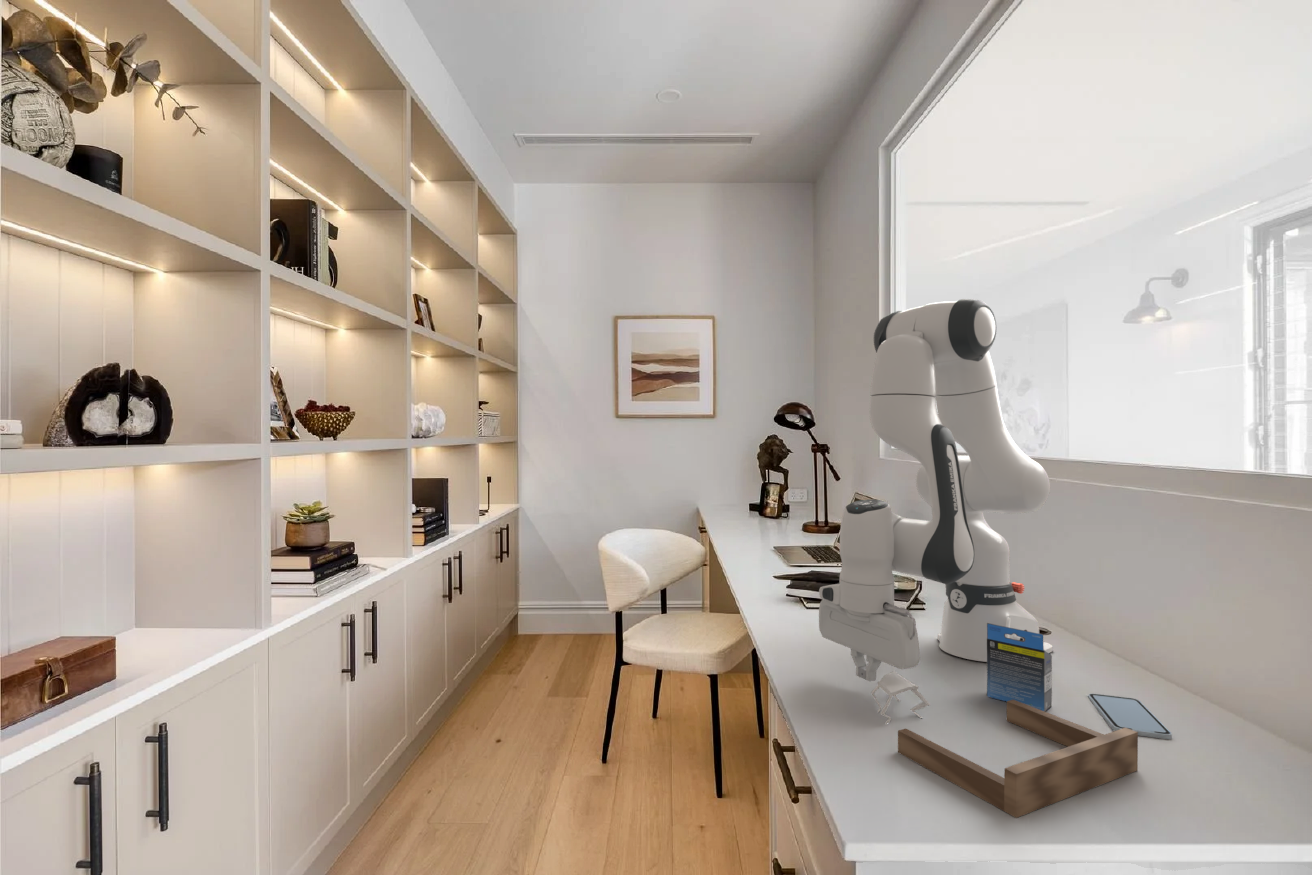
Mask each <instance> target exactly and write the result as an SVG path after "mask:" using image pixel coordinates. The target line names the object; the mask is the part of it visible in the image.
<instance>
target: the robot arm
mask: <svg viewBox="0 0 1312 875" xmlns="http://www.w3.org/2000/svg"><path fill="white" fill-rule="evenodd" d="M996 335H997V321H996V316H995V314H994V312H993V310H992V308H991V307H990V306H989V305H988V304H987V303H986V302H985V301H984V300H980V299H977V298H962V299H959V300H952V301H951V300H949V301H939V302H931V303H927V304H925V305H921V306H916V307H912V308H908V309H905V310H896V311H894V312H892V313H891V312H890V313H889V314H887V315H885V316H884V317H882V318H880V320H879V322H878V323H877V326H876V328H875V330H874V333H873V345H874V350H875V353H876V354H875V358H874V362H873V369H872V373H871V374H872V375H871V381H870V392H869V393H870V394H869V420H870V425H871V428H872V429H873V431H874V432H875V434H876V436H878V438H880V439H881V440H882V441H883V442H885V443H886V444H888V445H889V446H891V447H893V448H895V449H897V450H900V451H901V452H904V453H906V454H908V455H910V456H912V457H913V458H914V459H915V460H917V461H918V462H919V463H920V466H919V468H918V469H917V471H916V475H915V476H916V477H915V486H916V490H917V492H918V495H919V496H920V498H921V499H922V500H923V501H924V503H925V502H926V504H927V505H929V507H930V508H931V514H932V516H931V517H932V518H931V520H927V519H926V520H925V519H918V518H917V519H916V518H910V517H904V516H901V515H899V514H897V513H895V512H893V511H892V507H891V505H890V504H889V503H888V501H887V502H886V501H885V500H880V499H863V500H862V499H861V500H859V499H858V500H855V501H853V502H850V503H849V504H848V505H846V506H845V508H844V510H843V512H842V517H841V522H840V530H839V556H840V559H841V570H840V573H839V582H837V583H835V584H829V585H823V586H820V587H819V590H818V595H819V598H820V599H821V601H820V603H819V607H818V630H819V631H820V632H819V633H820V634H821V637H822V638H824V639H826V640H828V641H831V642H833V643H836V644H839V645H841V646H843V647H845V648H849V649H850V655H851V658H852V660H853V664H854V666H855V675H856V676H857V677H858V678H861V679H863V680H864V681H867V682H870V683H872V682H875V681H876V679H877V670H878V669H879V668H880V666H881V663H885V664H887V665H890V666H891V667H892V666H893V667H894V668H897V669H899V670H908V669H913V668H916V667H917V666H918V665H919V663H920V661H921V656H920V653H921V652H920V642H919V636H918V635H919V634H918V630H917V629H918V628H917V622H916V619H915V618H914V616H913V615H912V613H910V611H909V610H908V609H907V608H905V607H899V606H897V605H895V577H894V573H893V572H897V573H898V574H899V573H900V574H903V575H904V574H905V575H910V576H914V577H921V578H925V579H927V580H929V581H933V582H937V583H940V584H943V585H944V586H945V596H946V597H947V599H946V601H944V604H943V611H942V621H941V628H940V630H941V631H940V632H939V633H937V638H936V639H937V640H938V641H939V645H938V646H939V648H940V650H942V651H943V652H945V653H946V654H949V655H952V656H955V657H957V658H958V657H959V658H963V659H965V660H966V659H967V660H970V661H978V662H985V663H987V623H990V624H994V625H999V626H1004V627H1009V628H1014V629H1019V630H1023V631H1028V632H1033V633H1038V634H1040V628H1039V627H1040V625H1039V622H1038V620H1037V618H1035V617H1034V615H1032V614H1031V613H1030V612H1028V611H1027V610H1026V608H1024V607H1023V606H1022V605H1020V604H1019V603H1018V602H1017V597H1016V594H1015V593H1017V594H1020V595H1022V594H1023V593H1024V592H1025V585H1024V583H1019V582H1018V583H1017V582H1015V581H1013V582H1011V581H1010V577H1011V575H1010V566H1011V563H1010V562H1011V559H1010V558H1011V557H1010V552H1011V550H1010V545H1009V543H1008V541H1007V540H1006V538H1005V537H1004V536H1003V535H1001V534H1000V533H998V532H997V531H995V530H993V528H991V526H990V525H989V523H988V522H987V520H986V519H985V516H984V512H985V513H993V514H996V513H997V514H1004V515H1005V514H1006V515H1016V514H1017V515H1019V514H1027V513H1036V512H1038V511H1039V510H1041V509H1042V507H1043V506H1044V505H1046V504H1045V503H1046V502H1047V500H1048V499H1049V496H1050V493H1051V481H1050V478H1049V475H1048V472H1047V471H1046V470H1045V468H1044V467H1043V466H1042V465H1041V464H1040V463H1039V462H1037V461H1035V460H1034V459H1033V458H1031V457H1029V456H1028V455H1027V454H1026V453H1024V451H1023V450H1022V449H1021V448H1020V447H1019V446H1018V445H1017V444H1016V443H1015V442H1016V441H1015V440H1013V438H1012V436H1011V435H1010V432H1009V431H1008V430H1007V427H1006V425H1005V422H1004V418H1003V415H1002V414H1003V413H1002V409H1001V405H1000V404H1001V403H1000V399H999V392H998V384H997V378H996V373H995V368H994V364H993V361H992V358H991V354H990V350H991V347H992V346H993V345H994V342H995V340H996V337H997V336H996ZM956 444H958V445H959V446H960V447H961V448H962V449H963V450H964V451H965V453H966V454H967V455H958V450H957V445H956ZM1005 637H1006V638H1011V639H1016V640H1020V641H1023V640H1024V639H1023V638H1022V637H1018V636H1017V635H1016V634H1012V635H1009V634H1005ZM1043 646H1044V650H1045V651H1046V652H1047V653H1049V654H1051V653H1052V652H1054V647H1053V645H1052V644H1050V643H1049V642H1046V641H1044V640H1043ZM865 657H866V658H865ZM867 662H868V664H867Z"/></svg>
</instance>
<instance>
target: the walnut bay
mask: <svg viewBox="0 0 1312 875" xmlns="http://www.w3.org/2000/svg"><path fill="white" fill-rule="evenodd" d="M1006 722H1008V723H1011V724H1013V725H1015V724H1016V726H1017V725H1018V726H1017V727H1020V728H1022V727H1023V728H1022V729H1025V730H1026V731H1027V730H1028V732H1029V731H1030V732H1031V733H1032V732H1033V733H1034V732H1035V733H1034V734H1036V735H1039V736H1042V737H1044V738H1046V739H1049V740H1051V741H1054V742H1056V743H1058V744H1061V745H1063V746H1064V748H1061V749H1058V750H1055V751H1052V752H1049V753H1046V754H1042V755H1040V756H1037V757H1034V758H1031V759H1028V760H1025V761H1021V762H1019V763H1016V764H1013V765H1010V766H1007V767H1005V768H1004V771H1003V772H1004V776H1003V777H1002V776H1001V775H999V774H997V773H995V772H993V771H991V770H989V769H987V768H985V767H983V766H981V765H980V764H977V763H975V762H973V761H971V760H969V759H967V758H965V757H963V756H961V755H959V754H958V753H955V752H953V751H952V750H949V748H946V747H943V746H942V745H940V744H937V743H936V742H934V741H932V740H930V739H927V738H925V737H924V736H921V735H919V734H918V733H916V732H914V731H912V730H910V729H908V728H903V729H899V730H897V753H898V754H900V755H902V756H904V757H905V758H907V759H909V760H911V761H912V762H914V763H916V764H918V765H920V766H921V767H923V768H925V769H927V770H928V771H931V772H933V773H934V774H937V775H938V776H940V777H941V778H943V779H945V780H947V781H948V782H951V783H952V784H954V785H956V786H958V787H959V788H961V789H963V790H965V791H967V792H969V793H970V794H972V795H974V796H975V797H977V798H980V800H983V801H985V802H987V803H988V804H990V805H992V806H994V807H995V808H997V809H999V810H1001V811H1003V812H1005V813H1007V814H1008V815H1010V816H1011V817H1013V818H1016V819H1017V818H1020V817H1023V816H1024V815H1027V814H1030V813H1032V812H1033V813H1034V812H1035V811H1037V809H1038V810H1040V809H1044V808H1045V806H1046V807H1047V806H1050V804H1051V805H1053V804H1056V803H1058V802H1061V801H1063V800H1066V799H1069V798H1071V797H1074V796H1076V795H1079V794H1081V793H1084V792H1087V791H1089V790H1092V789H1094V788H1096V787H1099V786H1102V785H1104V784H1106V783H1110V782H1112V781H1114V780H1116V779H1119V778H1121V777H1124V776H1127V775H1129V774H1133V773H1135V772H1138V769H1139V768H1138V765H1139V763H1138V759H1139V758H1138V756H1139V755H1138V754H1139V751H1138V750H1139V748H1138V746H1139V745H1138V744H1139V741H1138V740H1139V738H1138V737H1139V735H1138V732H1136V731H1133V730H1131V729H1128V728H1123V729H1120V730H1117V731H1114V730H1113V731H1111V732H1108V733H1105V734H1104V733H1101V732H1099V731H1096V730H1093V729H1091V728H1088V727H1086V726H1084V725H1080V724H1078V723H1076V722H1073V721H1070V720H1067V719H1064V718H1063V717H1059V716H1057V715H1055V714H1053V713H1049V712H1047V711H1045V712H1044V711H1042V710H1039V709H1037V708H1034V707H1031V706H1029V705H1026V704H1024V703H1021V702H1018V701H1016V700H1009V701H1007V702H1006ZM1065 746H1066V747H1065Z"/></svg>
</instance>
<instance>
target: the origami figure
mask: <svg viewBox="0 0 1312 875" xmlns="http://www.w3.org/2000/svg"><path fill="white" fill-rule="evenodd" d="M879 689H881V690H882V691H883V692H884V693H886V695H888V696H889V697H888V698H887V701H886V703H885V704H884V706H883V708H882V706H881V704H880V703H879V701H878V699H877V696H876V695H875V693H876V692H877V691H878V690H879ZM918 689H919V686H918V685H917V684H914V683H913V682H912V681H910V680H908V679H907V678H905V677H904V676H902V675H901V674H899V673H898V672H897V671H896V670H893V671H891V672H889V673H887V674H884V675H883V677H882V678H881V679H880V680H879V681H877V685H876V687H875V688H874V689H873V690H872V691H871V692H870V694H871V696H872V697H873V698H874V701H875V702H876V704H877V705H878V707H879V708H878V709H877V711H878V712H877V713H878V714H880V715H882V716H884V717H886V718H888V719H887V720H886V721H885V723H886V724H885V725H888V724H887V723H890V721H891V720H892V717H890V716H889V715H888V714H886V712H887V710H888V707H889V706H890V704H891V701H892V698H893V697H894V698H895V699H896V701H898V702H899V701H900V702H901V700H900V699H899V698H898V697H897V696H898V695H899V694H901V693H905V692H908V691H911V692H913V693H914V695H915V696H916V697H917V698H919V700H921V701H922V702H921V703H919V704H917V705H916V706H914V707H912V708H911V709H910V711H911V712H913V714H915V715H916V716H917V717H918V718H919V719H921V718H923V717H922V716H921V715H920V714H919V713H917V712H916V711H918V710H919V711H920V710H921V709H924V708H927V707H929V706H931V703H929V701H928V700H927V699H926V698H925V697H924V695H922V694H921V693H920V692H919V690H918ZM879 712H880V713H879Z"/></svg>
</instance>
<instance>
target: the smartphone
mask: <svg viewBox="0 0 1312 875" xmlns="http://www.w3.org/2000/svg"><path fill="white" fill-rule="evenodd" d="M1087 697H1088V699H1089V700H1090V702H1092V704H1093V705H1094V708H1096V710H1097V711H1098V712H1099V714H1100V715H1101V716H1102V717H1103V719H1104V721H1105V722H1106V723H1107V724H1108V726H1109V727H1110V728H1111V730H1112V731H1113V732H1114V731H1117V730H1120V729H1123V728H1128V729H1131V730H1133V731H1136V732H1138V737H1140V736H1141V737H1145V738H1146V737H1148V738H1155V739H1156V738H1157V739H1161V740H1162V739H1163V740H1172V737H1173V733H1172V732H1171V731H1170V730H1169V729H1168V728H1167V727H1166V726H1165V725H1164V724H1163V722H1162V721H1160V719H1159V718H1157V716H1156V715H1155V714H1154V713H1153V712H1152V711H1151V710H1149V708H1148V707H1146V706H1145V704H1144V703H1143V702H1141V700H1139V699H1137V698H1134V697H1127V696H1125V697H1124V696H1118V695H1117V696H1115V695H1109V694H1100V693H1088V694H1087Z"/></svg>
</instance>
